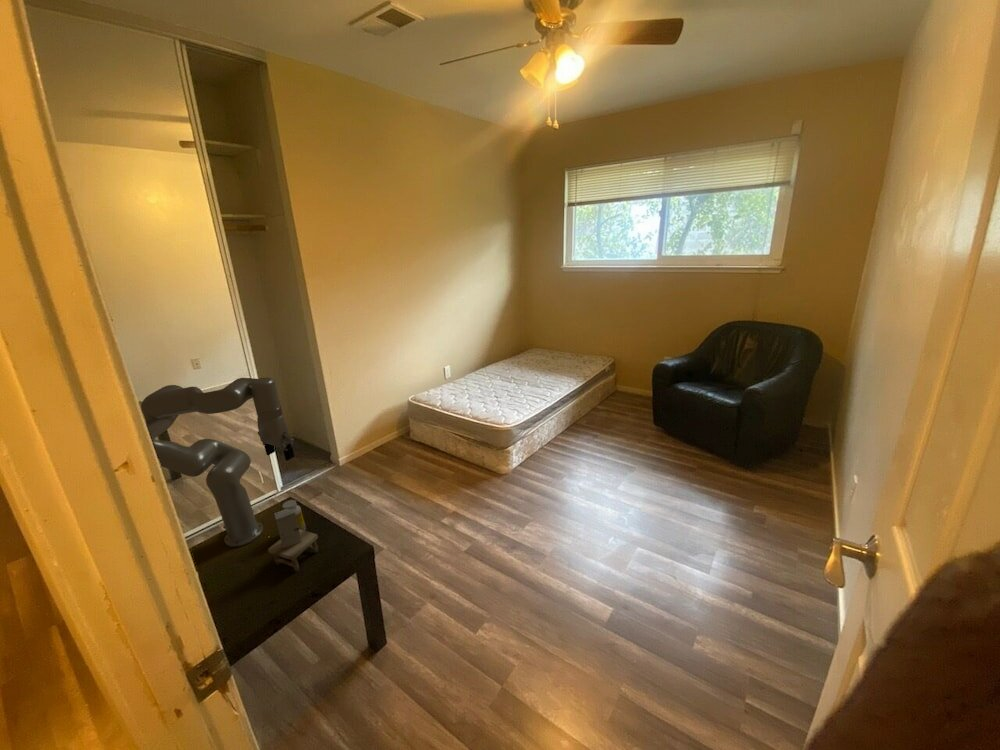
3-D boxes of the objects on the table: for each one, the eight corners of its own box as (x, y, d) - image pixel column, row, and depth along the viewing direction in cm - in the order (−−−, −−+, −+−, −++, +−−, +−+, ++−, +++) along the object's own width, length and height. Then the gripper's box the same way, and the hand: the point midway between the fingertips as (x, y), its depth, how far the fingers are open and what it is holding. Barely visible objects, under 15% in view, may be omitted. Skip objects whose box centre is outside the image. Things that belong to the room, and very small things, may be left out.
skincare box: (283, 549, 136) (274, 520, 132) (281, 541, 139) (272, 513, 135) (302, 541, 139) (295, 512, 135) (300, 534, 143) (292, 505, 138)
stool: (272, 565, 139) (267, 549, 136) (298, 542, 148) (294, 527, 146) (296, 573, 135) (292, 557, 132) (321, 549, 144) (317, 534, 142)
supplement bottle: (310, 528, 156) (302, 500, 151) (295, 539, 150) (287, 511, 146) (297, 523, 158) (290, 496, 154) (283, 534, 153) (275, 507, 148)
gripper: (242, 413, 139) (254, 456, 145) (277, 421, 132) (288, 466, 138) (262, 405, 146) (273, 446, 151) (296, 412, 139) (306, 455, 145)
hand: (280, 455), depth 145 cm, fingers open, 9 cm apart
